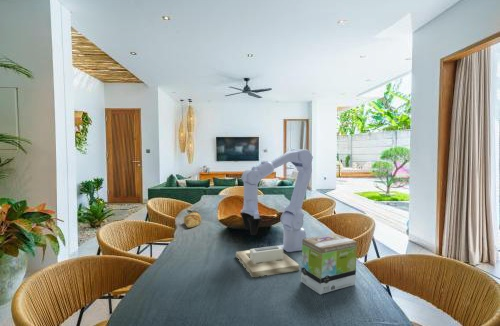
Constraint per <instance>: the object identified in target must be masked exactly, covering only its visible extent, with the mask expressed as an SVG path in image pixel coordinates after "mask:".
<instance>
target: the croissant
mask: <svg viewBox="0 0 500 326" xmlns="http://www.w3.org/2000/svg"><path fill="white" fill-rule="evenodd" d="M201 222H202V217H201V214H199V213H198V212H197V211H195V212H194V211H192V212H190V213H187V214H186V215H185V216H184V217H183V223H184V225H185V226H186V228H189V229H190V228H194V227H196V226H199V225H201Z"/></svg>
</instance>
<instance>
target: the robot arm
mask: <svg viewBox="0 0 500 326" xmlns="http://www.w3.org/2000/svg"><path fill="white" fill-rule="evenodd" d="M313 159H314V156H313V155H312V153H311V151H310V150H308V149H307V148H306V149H295V148H292V149H291V150H287V151H286V152H285V153H283V154H281V155H280V156H278V157H276V158H275V159H273V160H272V161H267V160H263V161H260V164H258V165H256V166H254V165H253V166H252V167H251V169H245V170H244V171H243V172H242V175H241V176H240V178H241V181H242V182H243V206H242V209H240V213H239V215H240V216H241V218H242V223H243V226H244V231H247V230H249V231H250V235H251V236H257V234H258V230H259V227H260V224H261V221H262V220H263V217H260V213H259V209H258V206H259V205H258V203H259V199H258V198H259V196H258V195H259V194H258V192H259V190H258V184H259V183H260V182H261V180H262V179H264V178H267V177H268V176H270V175H272V174H273V173H274V170H276V169H277V168H279V167H281V166H283V165H286V164H287V163H289V162H290V163H291V165H293V166H294V168H295V167H296V169H297V171H298V173H297V176H296V180H295V183H294V187H293V191H292V193H291V198H290V201H289V205H287V206H286V207H285V208H284V211H283V212H282V214H281V215H280V222H281V224H282V227H283V229H282V231H283V244H280V245H279V246H280V247H281V248H283V251H286V252H287V253H292V252H298V251H302V241H303V239H306V238H307V234H306V231H305V229H304V228H303V225H304V217H305V216H304V215H305V214H304V212H303V209H302V207H303V203H304V200H305V197H306V193H307V190H308V186H309V182H310V180H311V179H310V178H311V175H312V172H313V171H312V170H313V169H312V165H313V164H312V162H313Z"/></svg>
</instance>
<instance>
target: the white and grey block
mask: <svg viewBox="0 0 500 326" xmlns="http://www.w3.org/2000/svg"><path fill="white" fill-rule="evenodd" d="M249 250H250V260H251V261H252V262H253V263H256V264H259V263H261V262H267V261H274V260H276V261H280V260H281V259H283V253H284V249H283V248H281V247H280V245H272V246H264V247H256V248H250V249H249Z"/></svg>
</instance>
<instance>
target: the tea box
mask: <svg viewBox="0 0 500 326" xmlns="http://www.w3.org/2000/svg"><path fill="white" fill-rule="evenodd" d="M357 251H358V242H357V241H356V240H354V239H351V238H348V237H346V236H343V235H340V234H338V233H332V234H331V233H330V234H327V235H326V234H325V235H320V236H314V237H312V236H311V237H308V238H307V237H306V239H303V241H302V250H301V268H300V269H301V273H300V282H301V283H303V284H304V285H305V286H306V287H308V288H310V289H311V290H313V291H314V292H316V293H317V294H318V295H320V296H321V295H324V294H326V293H330V292H334V291H336V290H340V289H344V288H347V287H352V286H355V285H356V279H357V278H356V276H357V253H358V252H357Z"/></svg>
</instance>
